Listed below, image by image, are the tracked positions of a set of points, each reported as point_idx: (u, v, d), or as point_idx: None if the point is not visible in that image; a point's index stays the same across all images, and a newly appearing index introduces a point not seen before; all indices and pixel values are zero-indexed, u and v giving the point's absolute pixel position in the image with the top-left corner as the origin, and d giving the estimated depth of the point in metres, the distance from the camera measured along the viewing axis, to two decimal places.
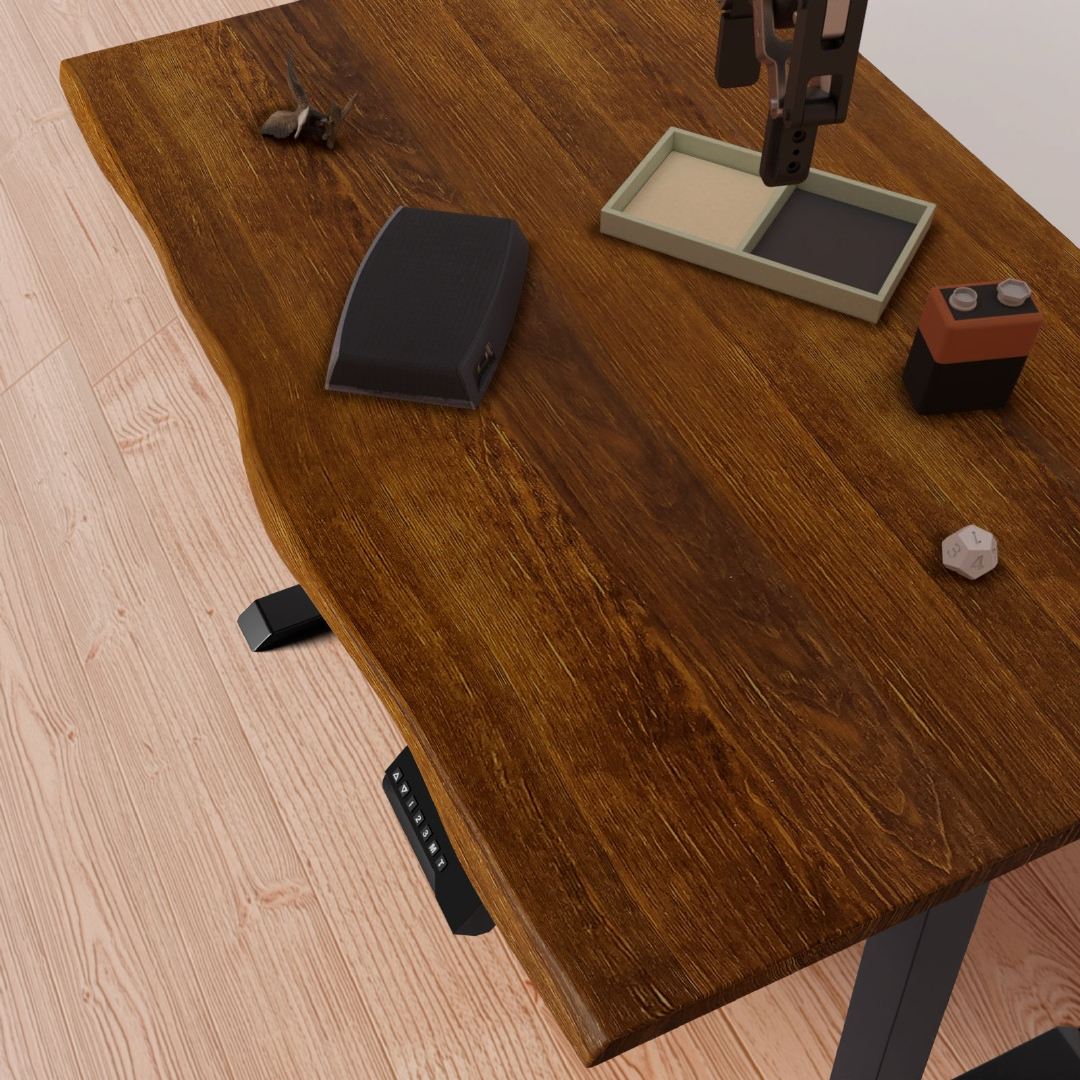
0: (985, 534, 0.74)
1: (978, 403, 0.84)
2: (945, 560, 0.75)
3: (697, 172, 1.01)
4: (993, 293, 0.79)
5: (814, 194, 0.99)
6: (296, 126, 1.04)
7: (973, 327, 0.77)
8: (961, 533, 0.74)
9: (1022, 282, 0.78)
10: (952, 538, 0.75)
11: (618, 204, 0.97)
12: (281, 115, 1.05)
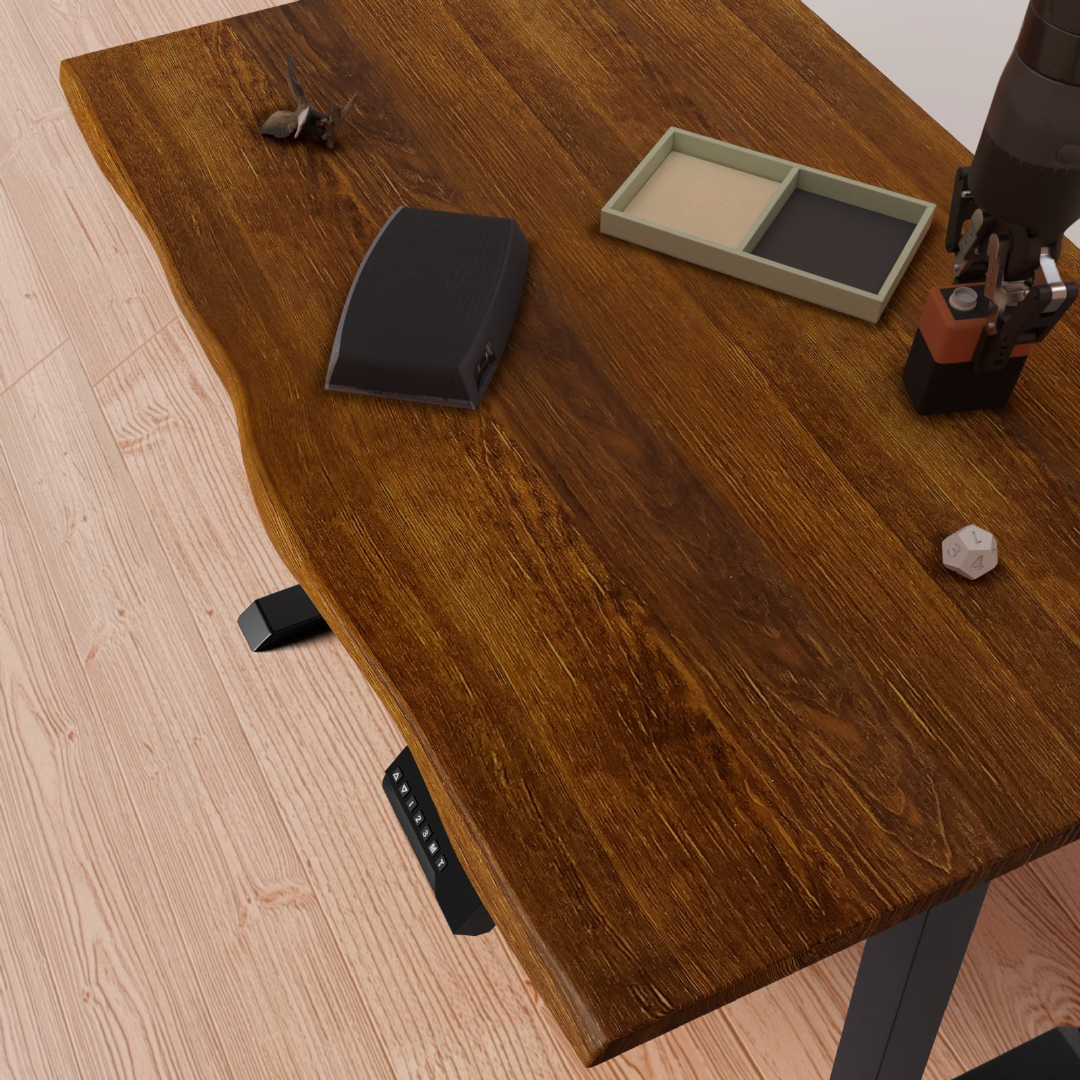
0: (985, 534, 0.74)
1: (978, 403, 0.84)
2: (945, 560, 0.75)
3: (697, 172, 1.01)
4: None
5: (814, 194, 0.99)
6: (296, 126, 1.04)
7: (973, 326, 0.77)
8: (961, 533, 0.74)
9: (1022, 282, 0.78)
10: (952, 538, 0.75)
11: (618, 204, 0.97)
12: (281, 114, 1.05)
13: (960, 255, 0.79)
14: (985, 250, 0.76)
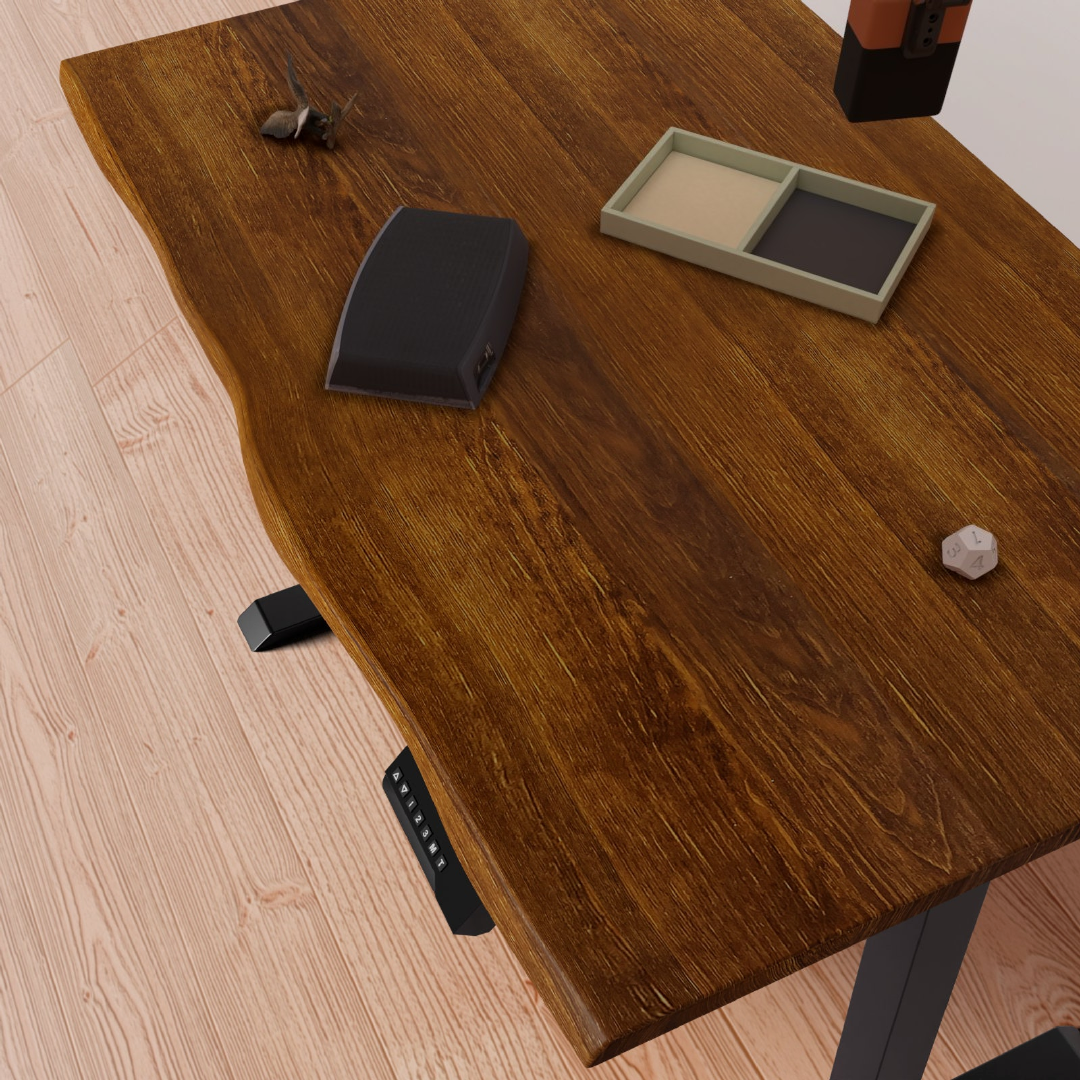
0: (985, 534, 0.74)
1: (911, 104, 0.80)
2: (945, 560, 0.75)
3: (697, 172, 1.01)
4: None
5: (814, 194, 0.99)
6: (296, 126, 1.04)
7: (900, 0, 0.74)
8: (961, 533, 0.74)
9: None
10: (952, 538, 0.75)
11: (618, 204, 0.97)
12: (281, 114, 1.05)
13: None
14: None
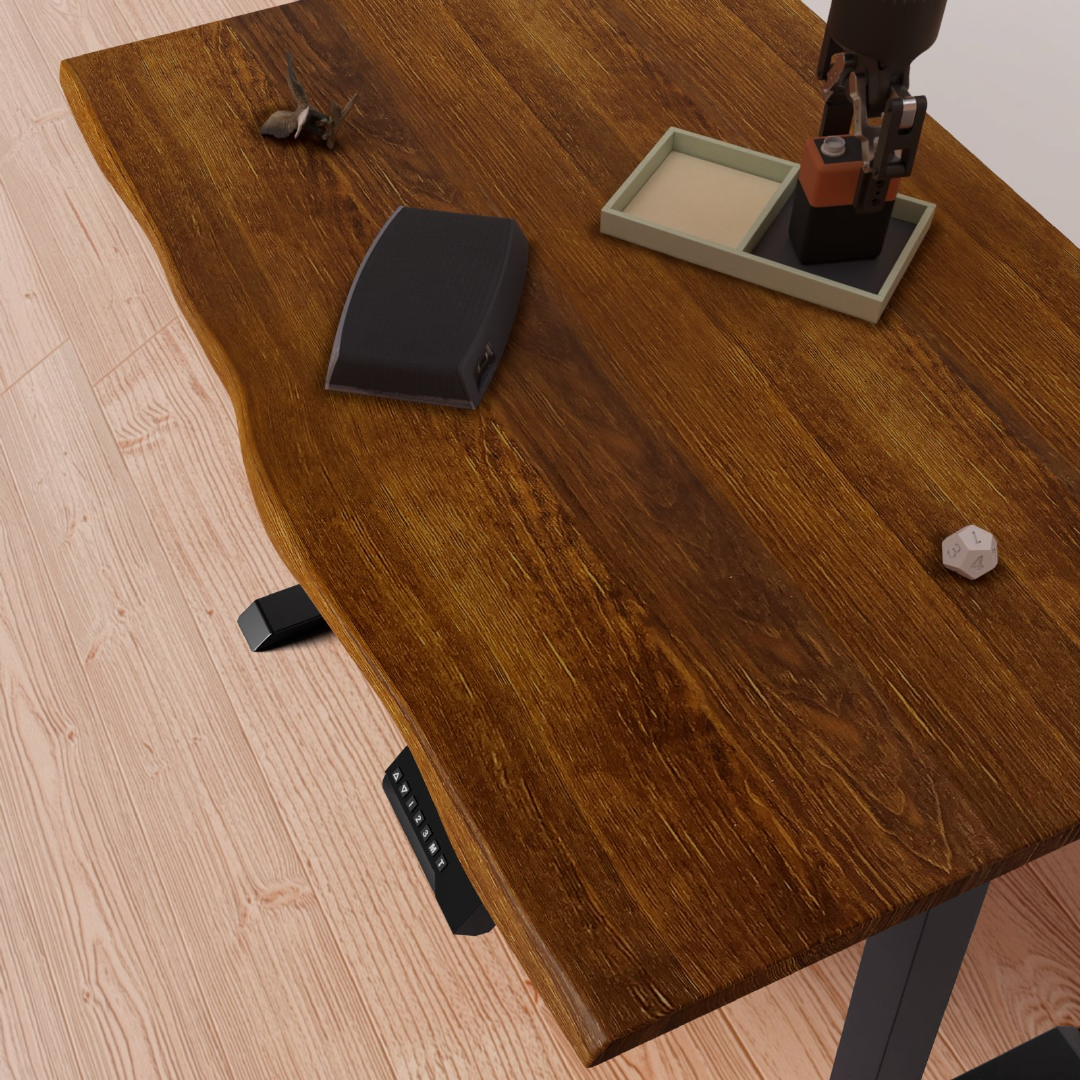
0: (985, 534, 0.74)
1: (854, 249, 0.93)
2: (945, 560, 0.75)
3: (697, 172, 1.01)
4: (860, 142, 0.88)
5: None
6: (296, 126, 1.04)
7: (841, 169, 0.87)
8: (961, 533, 0.74)
9: None
10: (952, 538, 0.75)
11: (618, 204, 0.97)
12: (281, 114, 1.05)
13: None
14: (850, 92, 0.85)
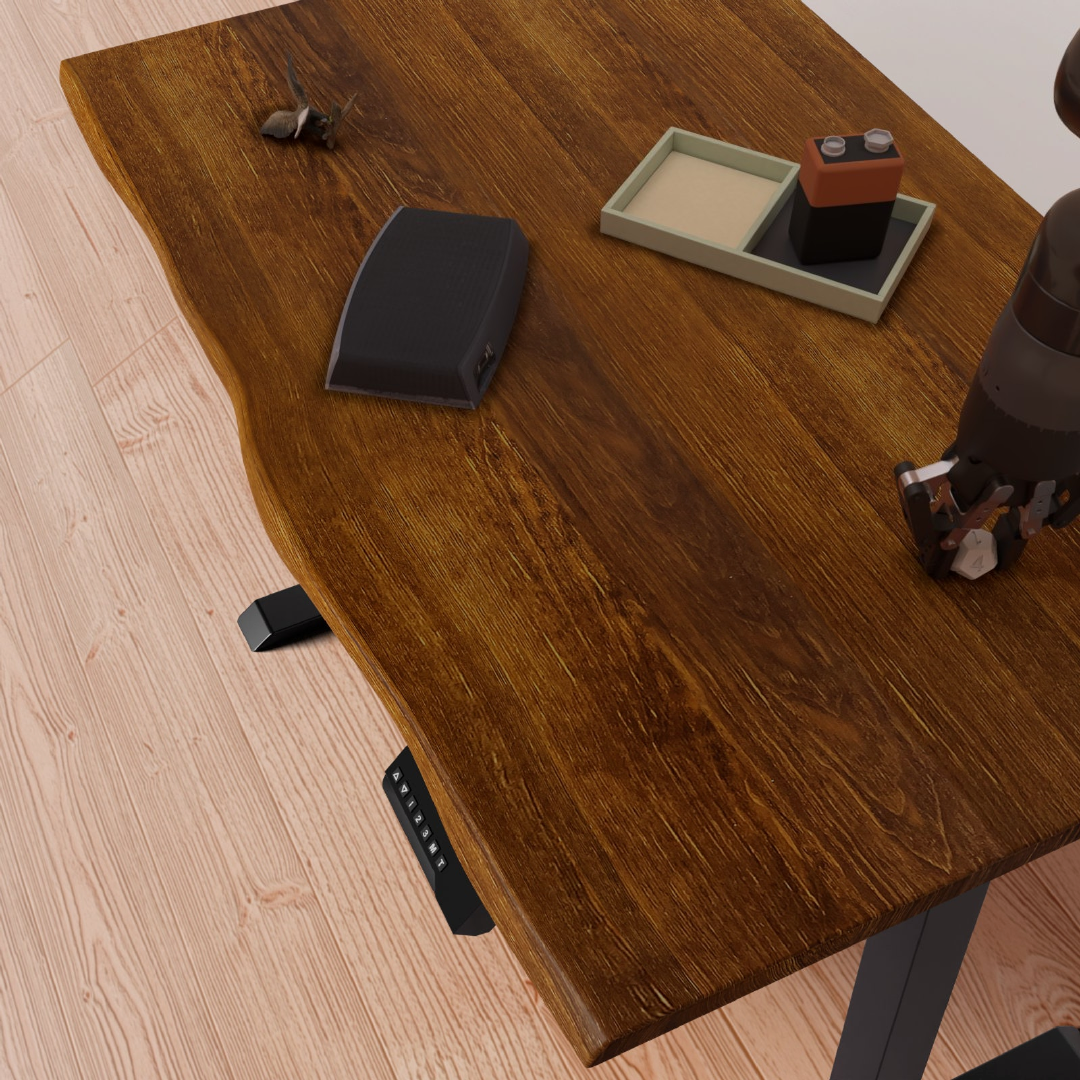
0: (985, 534, 0.74)
1: (854, 249, 0.93)
2: None
3: (697, 172, 1.01)
4: (861, 142, 0.88)
5: None
6: (296, 126, 1.04)
7: (841, 169, 0.87)
8: None
9: (886, 131, 0.88)
10: None
11: (618, 204, 0.97)
12: (281, 115, 1.05)
13: None
14: None
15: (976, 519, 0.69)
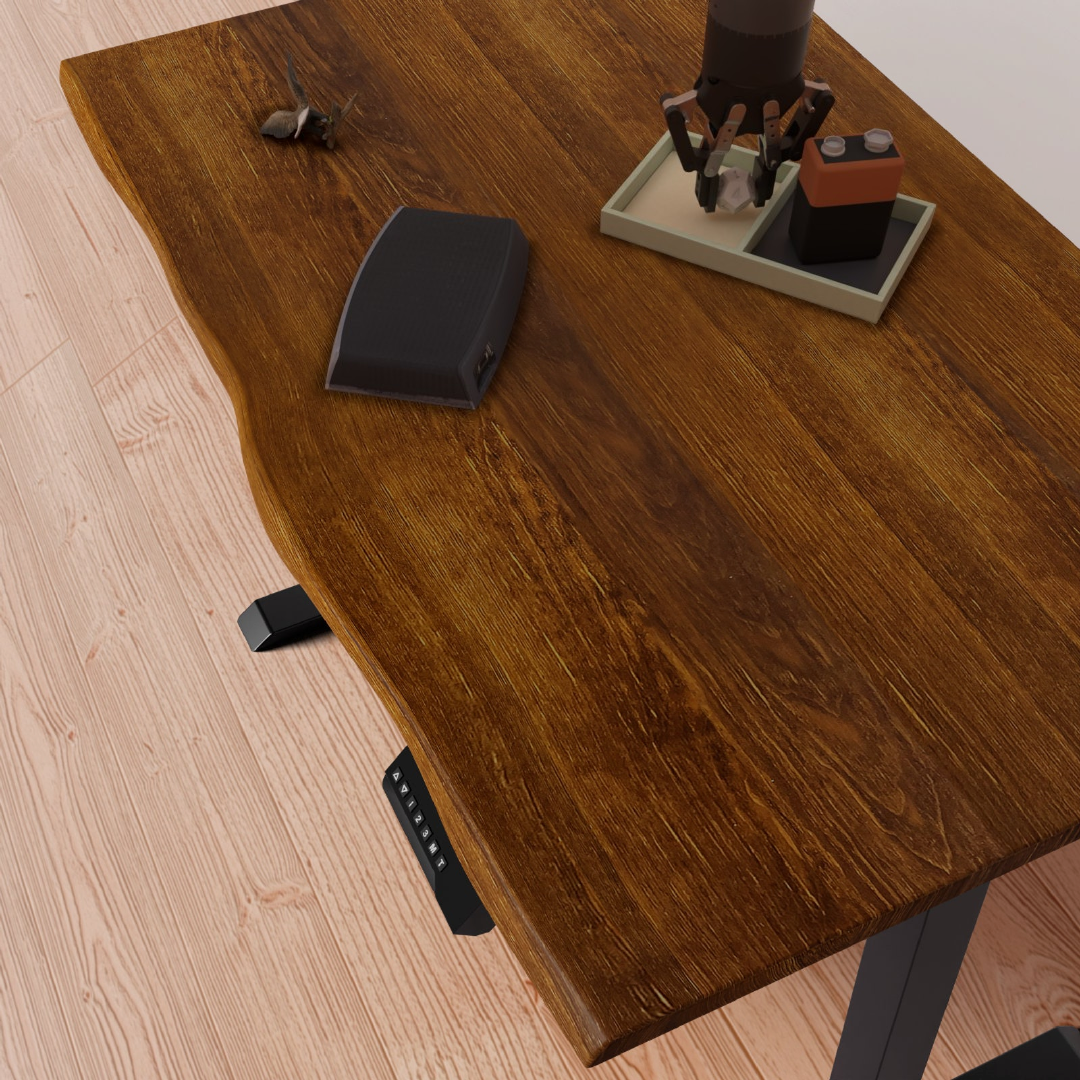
0: (744, 172, 0.95)
1: (854, 249, 0.93)
2: None
3: None
4: (860, 142, 0.88)
5: None
6: (296, 126, 1.04)
7: (841, 169, 0.87)
8: (725, 171, 0.95)
9: (886, 131, 0.88)
10: None
11: (618, 204, 0.97)
12: (281, 114, 1.05)
13: None
14: None
15: (723, 141, 0.90)
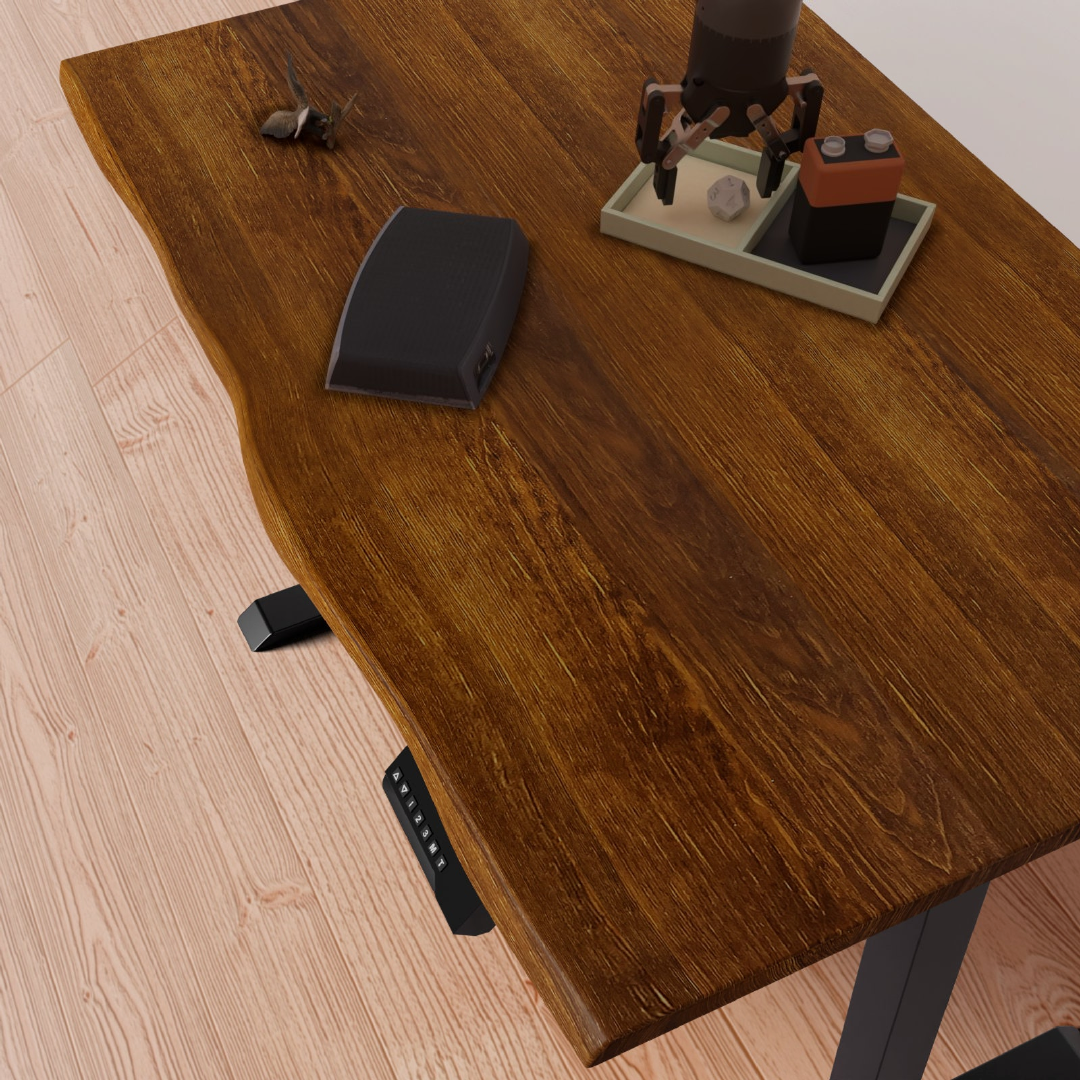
0: (738, 180, 0.96)
1: (854, 249, 0.93)
2: (709, 203, 0.96)
3: (697, 172, 1.01)
4: (861, 142, 0.88)
5: None
6: (296, 126, 1.04)
7: (841, 169, 0.87)
8: (719, 179, 0.96)
9: (886, 131, 0.88)
10: (713, 185, 0.96)
11: (618, 204, 0.97)
12: (281, 115, 1.05)
13: None
14: None
15: (695, 137, 0.90)
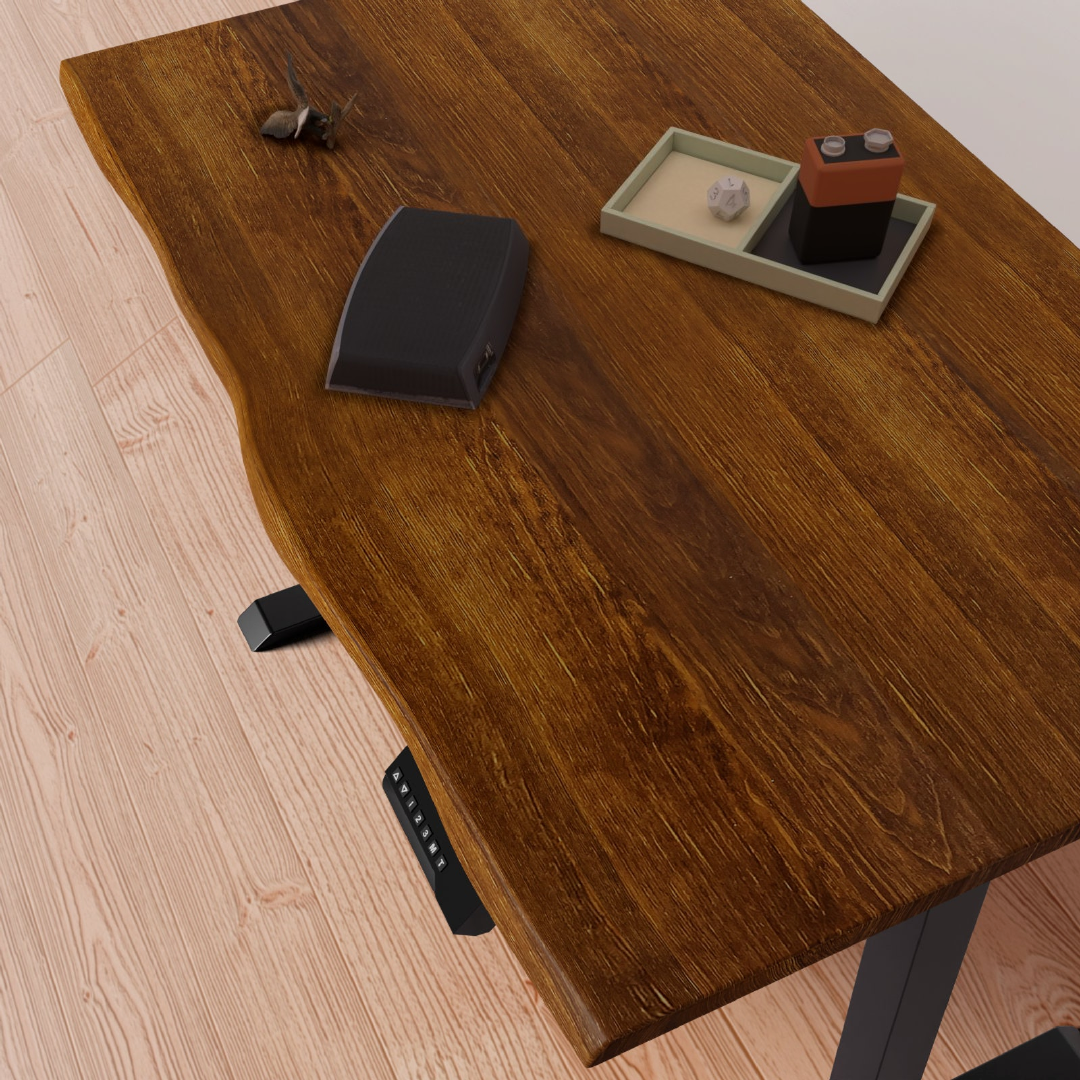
0: (738, 180, 0.96)
1: (854, 249, 0.93)
2: (709, 203, 0.96)
3: (697, 172, 1.01)
4: (860, 142, 0.88)
5: None
6: (296, 126, 1.04)
7: (841, 169, 0.87)
8: (719, 179, 0.96)
9: (886, 131, 0.88)
10: (713, 185, 0.96)
11: (618, 204, 0.97)
12: (281, 115, 1.05)
13: None
14: None
15: None
